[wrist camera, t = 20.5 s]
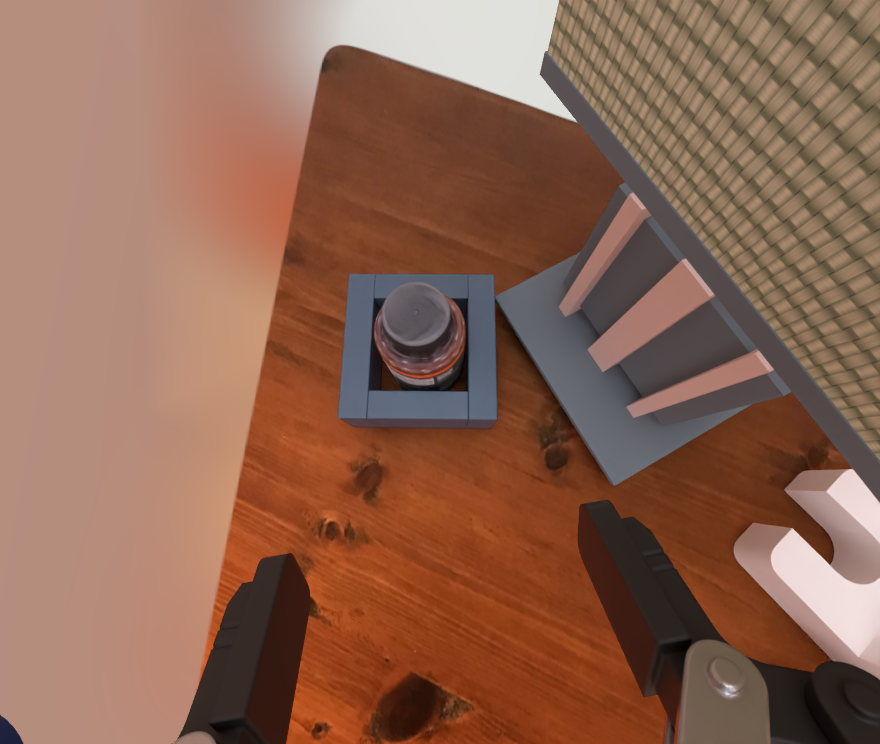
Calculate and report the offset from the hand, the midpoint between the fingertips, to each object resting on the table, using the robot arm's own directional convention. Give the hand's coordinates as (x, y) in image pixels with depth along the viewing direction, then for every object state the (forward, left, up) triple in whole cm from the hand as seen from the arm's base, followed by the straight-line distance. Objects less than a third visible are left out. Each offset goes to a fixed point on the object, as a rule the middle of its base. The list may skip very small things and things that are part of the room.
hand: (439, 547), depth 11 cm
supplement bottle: (-2, +11, -21) cm, 24 cm away
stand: (-2, +11, -21) cm, 24 cm away
